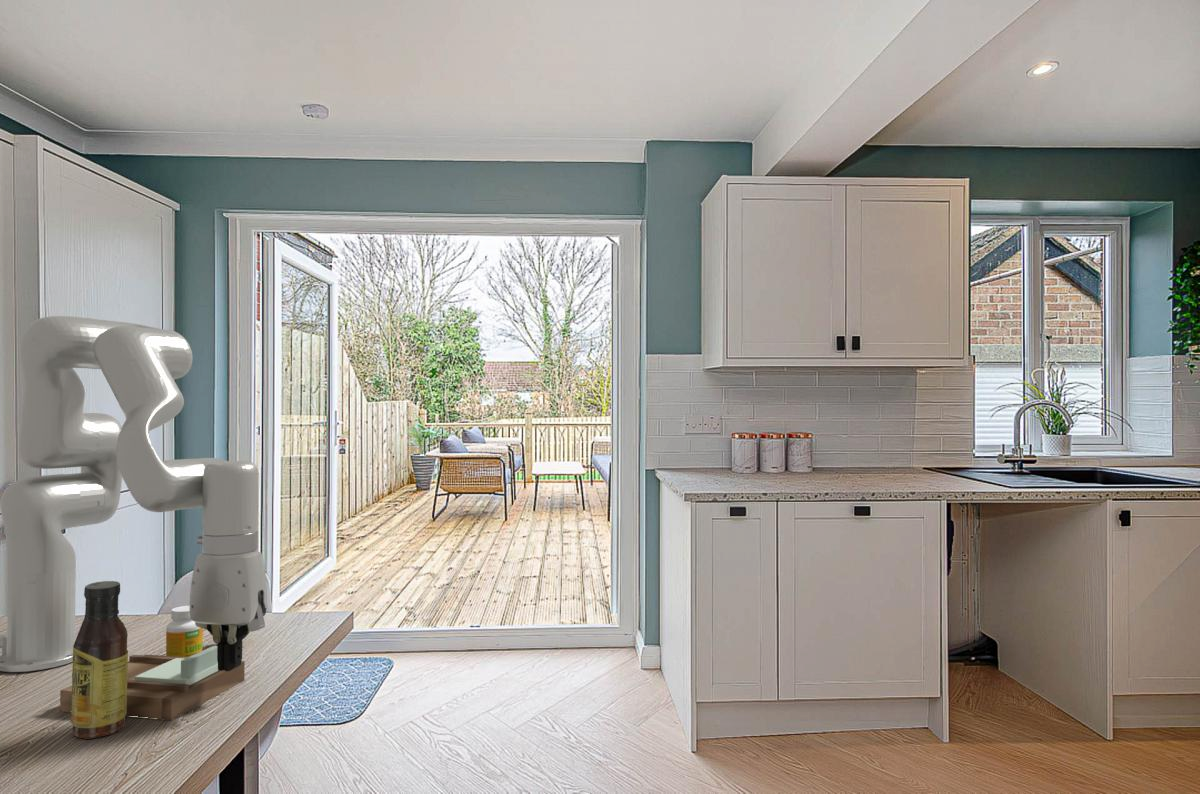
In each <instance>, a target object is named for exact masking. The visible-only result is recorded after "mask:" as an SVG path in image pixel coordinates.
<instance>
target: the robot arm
mask: <svg viewBox="0 0 1200 794" xmlns="http://www.w3.org/2000/svg"><path fill="white" fill-rule="evenodd" d="M22 333H23V334H22V335H21V340H20V342H19V343H20V344H19V359H20V360H19V361H20V366H21V372H22V377H23V378H22V379H23V397H22V404H21V405H22V407H21V414H20V415H21V417H20V425H19V435H18V455H19V459H20V460H21V462H22V463H23V464H24V465H25V466H27V467H30V468H32V469H33V468H34V469H41V470H42V469H47V470H48V469H53V470H54V469H67V468H69V469H70V468H80V473H79V472H78V473H77V472H76V473H59V474H48V475H37V476H30V477H26V478H25V477H24V478H21V479H19V480H15V481H14V482H12V483H10V485H8V486H7V487H6V488H5V489H4V490H3V492H2V494H1V497H0V515H1V519H2V524H3V527H4V534H5V540H6V541H5V542H6V557H7V558H6V567H7V568H6V573H7V576H6V577H7V578H6V585H7V586H6V587H7V588H6V589H7V590H6V632H2V633H1V634H0V649H1V655H0V672H4V673H5V672H6V673H25V672H35V671H40V670H41V671H42V670H47V669H52V668H57V667H61V666H64V665H67V664H71V663H73V645H74V643H75V640H76V579H77V578H76V574H77V573H76V572H77V569H76V566H77V564H76V561H77V559H76V558H77V557H76V553H75V549H74V547H73V546H72V544H71V543H70V541H69V540H68V539H67V538H66V537H65V535H64V534H63V532H62V530H66V529H71V528H77V527H85V526H91V525H97V524H102V523H104V522H107V521H108V520H110V519H111V518H112V517H113V516H114V515H115V513H116V511H117V510H118V507H119V504H120V498H121V491H122V490H121V489H122V481H124V484H125V485H126V487H127V489H128V491H129V493H130V495H131V496H132V497H133V499H134V500H135V501H136V503H137V504H138V505H139V506H140V507H141V508H142V509H144V510H147V511H149V512H153V513H164V512H165V513H166V512H174V511H179V510H180V511H181V510H187V509H198V508H202V517H201V519H202V525H201V527H202V528H201V529H202V531H201V532H202V533H201V534H202V535H198V536H197V538H196V544H197V545H201V550H202V551H201V553H199V554H197V555H196V558H195V562H194V567H193V571H192V577H191V583H190V593H189V606H190V607H189V612H190V618H191V620H193V621H194V622H195V625H196V626H197V627H200V628H203V630H207V631H208V633H209V634H210V635H211V636H212V641H213V642H214V644H216V646H217V661H218V671H223V670H225V671H231V670H232V669H234V668H236V667H238V666H240V665H241V661H243V640H245V639H246V638H247V636H248V635H249V634H250V633H251V632H256V631H260V630H261V629H263V628H265V626H266V622H265V618H264V616H266V614H267V610H268V589H267V588H268V586H267V585H268V584H267V575H266V569H265V568H266V567H265V563H264V558H263V555H262V554H263V553H262V552H261V551H259V490H260V489H259V486H260V485H259V484H260V483H259V482H260V481H259V479H260V478H259V475H260V474H259V473H260V472H259V468H258V466H257V465H256V463H254V462H251V461H247V460H225V459H222V458H218V457H200V458H181V459H180V458H179V459H170V460H169V459H166V460H161V458H160V457H159V454H158V453H157V452H156V449H155V447H154V446H153V443H152V441H151V438H150V431H153V430H154V429H156V428H159V427H160V426H163V425H164V424H167V423H169V422H170V421H171V420H173V419H174V418H175V417H176V416H177V415H179V414H180V413H181V411H182V409H183V408H184V405H185V399H184V395H183V394H182V393H183V392H181V390H180V389H179V386H178V385H177V383H176V381H175V380H177V379H180V378H183V377H184V376H186V375H187V374H188V373H189V371H190V370H191V368H192V365H193V351H192V348H191V346H190V343H189V342H188V341H187V339H186V338H185V337H184V336H183V335H181V334H180V333H179V332H177V331H174V330H171V329H163V328H158V327H153V326H148V325H142V324H138V323H132V322H124V321H116V320H108V319H107V320H105V319H96V318H89V317H79V316H69V315H52V316H45V317H40V318H38V319H34V321H32V322H31V323H30V324H29V325H28V326H27V327H26V329H25V330H24V332H22ZM75 369H91V370H101V372H102V374H103V376H104V377H105V378H104V379H105V380H106V382H107V384H108V387H110V390H111V392H112V393H113V395H114V397H115V399H116V401H117V403H118V405H119V407H120V409H121V411H122V413H123V414H124V416H125V420H124V423H123V424H121V423H120V422H119V421H118V420H117V419H116V418H115V416H112V415H109V414H107V413H100V412H84V403H85V396H86V393H85V388H84V385H83V382H82V380H81V378H80V376H79V375H78V374H77V372H76V371H75ZM250 621H251V622H250ZM249 632H250V633H249ZM248 633H249V634H248ZM247 634H248V635H247ZM246 635H247V636H246Z"/></svg>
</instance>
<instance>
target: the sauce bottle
mask: <svg viewBox="0 0 1200 794" xmlns="http://www.w3.org/2000/svg"><path fill="white" fill-rule="evenodd" d="M120 594H121V583H120V582H119V581H114V580H111V581H110V580H103V581H96V582H92V583H88V584H86V585H85V586H84V592H83V596H84V598H85V604H84V605H85V611H84V618H83V620H82V623H81V626H80V628H79V630H78V633H77V636H76V637H75V643H74V645H73V662H72V670H71V672H72V673H71V679H72V681H71V683H72V685H71V686H72V712H71V725H72V734H73V736H75V737H76V738H81V739H85V740H90V739H95V738H102V737H105V736H108V735H112V734H115V733H117V732H119V731H120V730H122V729H123V727H124V726H125V723H126V717H125V716H126V708H127V671H128V662H129V659H128V658H129V651H128V636H129V635H128V630H127V628H126V626H125V624H124V622H123V621H122V620H121V619H120V617H119V616H118V615H119V614H120V613H119V612H120V610H119V596H120Z"/></svg>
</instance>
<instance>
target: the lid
mask: <svg viewBox="0 0 1200 794" xmlns="http://www.w3.org/2000/svg"><path fill="white" fill-rule="evenodd" d="M217 671H218V661H217V645H213V646H210V647H208V648H206V649H203V651H201V652H199V653H197V654H195V655H192V656H190V657H188V658H186V659H185V658H175V659H173V660H171V661H168V662H166V663H164V664H162V665H160V666H157V667H155V668H153V669H151V670H148V671H146V672H144V673H142V674H140V675H137V676H135V681H148V682H162V683H175V684H189V685H191V684H193V683H195V682H197V681H199V680H201V679H203V678H205V677H207V676H209V675H211V674H213V673H215V672H217Z"/></svg>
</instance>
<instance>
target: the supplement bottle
mask: <svg viewBox="0 0 1200 794" xmlns="http://www.w3.org/2000/svg"><path fill="white" fill-rule="evenodd" d="M189 607H190V605H181V606H177V607H173V608H172V609H171V611H170V618H171V620H172V621H170V622H169V623H167V625H166V629H165V630H166V631H165V632H166V633H165V634H166V635H165V636H166V637H165V638H166V640H165V643H166V645H165V648H166V649H165V651H166V652H165V653H166V654H165V656H175V657H190V656H192V655H195V654H197V653H199V652H201V651H203V650H204V649H203V648H204V647H203V640H204V639H203V637H204V636H203V633H204V631H203V630H204V629H203V628H200V627H197V626H196V625H195V622H194V621H193V620H191V618H190V612H189Z"/></svg>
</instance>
